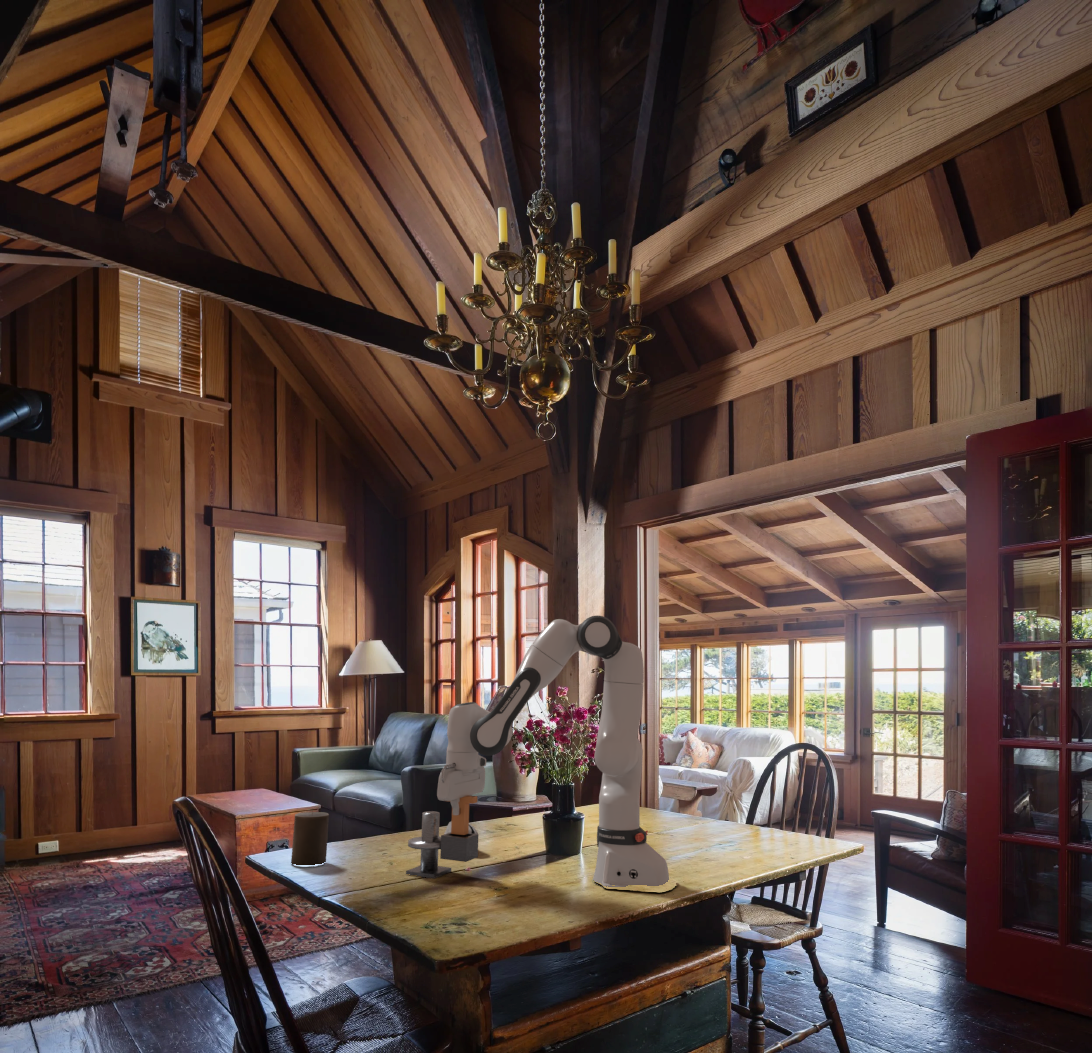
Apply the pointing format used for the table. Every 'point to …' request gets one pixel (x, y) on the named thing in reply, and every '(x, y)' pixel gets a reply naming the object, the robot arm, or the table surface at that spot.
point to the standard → (440, 847)
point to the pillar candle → (310, 838)
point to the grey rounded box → (471, 830)
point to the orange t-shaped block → (462, 816)
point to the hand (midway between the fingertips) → (460, 813)
